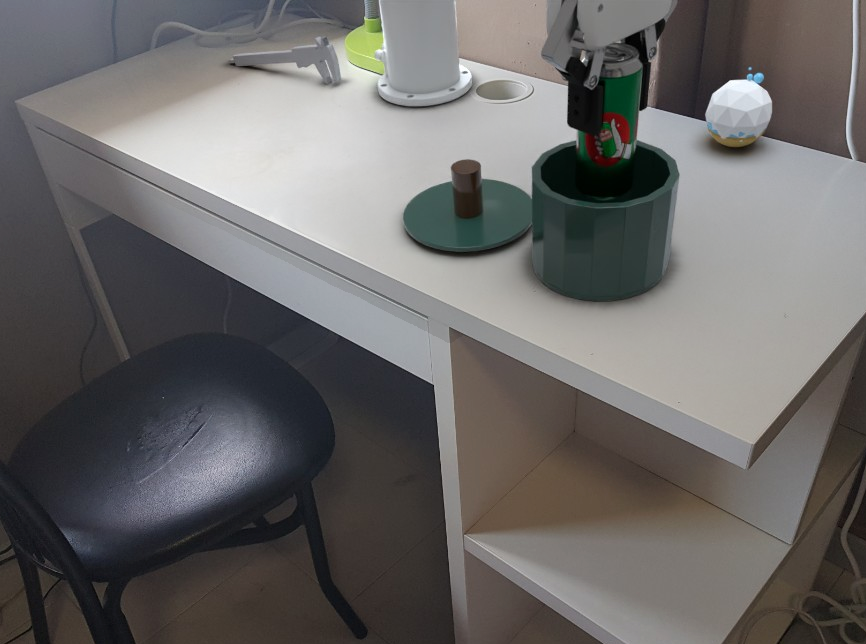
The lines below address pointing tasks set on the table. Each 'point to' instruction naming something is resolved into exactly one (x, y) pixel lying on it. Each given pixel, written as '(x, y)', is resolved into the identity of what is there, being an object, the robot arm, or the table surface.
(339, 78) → the caliper
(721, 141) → the ornament
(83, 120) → the table surface
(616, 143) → the soda can
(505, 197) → the lid
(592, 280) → the pot
